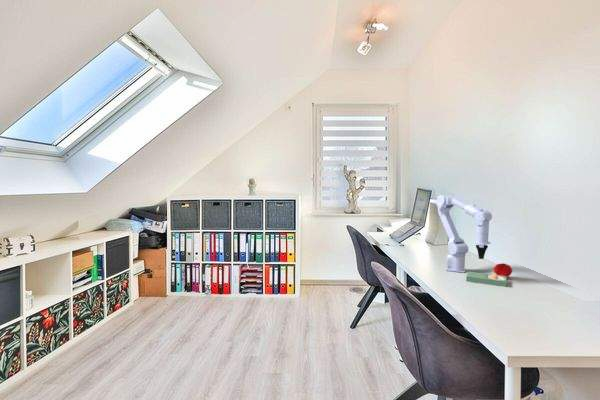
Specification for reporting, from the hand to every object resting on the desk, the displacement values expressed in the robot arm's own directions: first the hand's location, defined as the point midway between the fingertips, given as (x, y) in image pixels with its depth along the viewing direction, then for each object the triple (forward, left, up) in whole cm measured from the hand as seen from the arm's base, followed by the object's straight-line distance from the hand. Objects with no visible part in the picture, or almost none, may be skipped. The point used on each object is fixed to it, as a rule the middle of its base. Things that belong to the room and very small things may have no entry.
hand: (481, 258), depth 194 cm
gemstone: (+11, +4, -10) cm, 16 cm away
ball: (+7, -7, -8) cm, 13 cm away
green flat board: (+3, -7, -10) cm, 12 cm away
